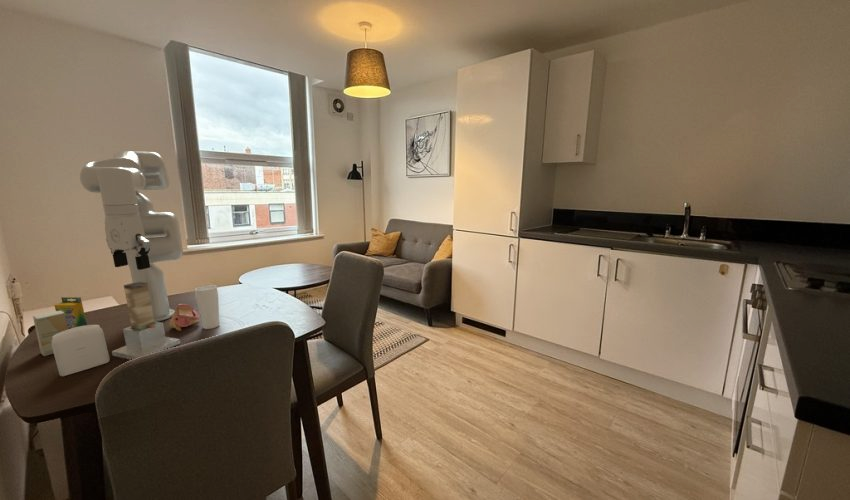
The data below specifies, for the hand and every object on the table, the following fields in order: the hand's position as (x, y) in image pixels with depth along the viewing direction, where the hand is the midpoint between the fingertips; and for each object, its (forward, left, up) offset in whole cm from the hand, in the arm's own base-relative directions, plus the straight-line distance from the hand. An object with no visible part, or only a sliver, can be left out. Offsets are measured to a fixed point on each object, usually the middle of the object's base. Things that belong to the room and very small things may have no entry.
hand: (132, 267), depth 100 cm
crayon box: (-43, +3, -27) cm, 51 cm away
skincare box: (-27, -9, -27) cm, 39 cm away
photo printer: (-5, -13, -27) cm, 31 cm away
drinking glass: (+4, +19, -27) cm, 33 cm away
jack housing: (0, 0, -27) cm, 27 cm away
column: (0, 0, -19) cm, 19 cm away
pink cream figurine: (-5, +17, -27) cm, 32 cm away
